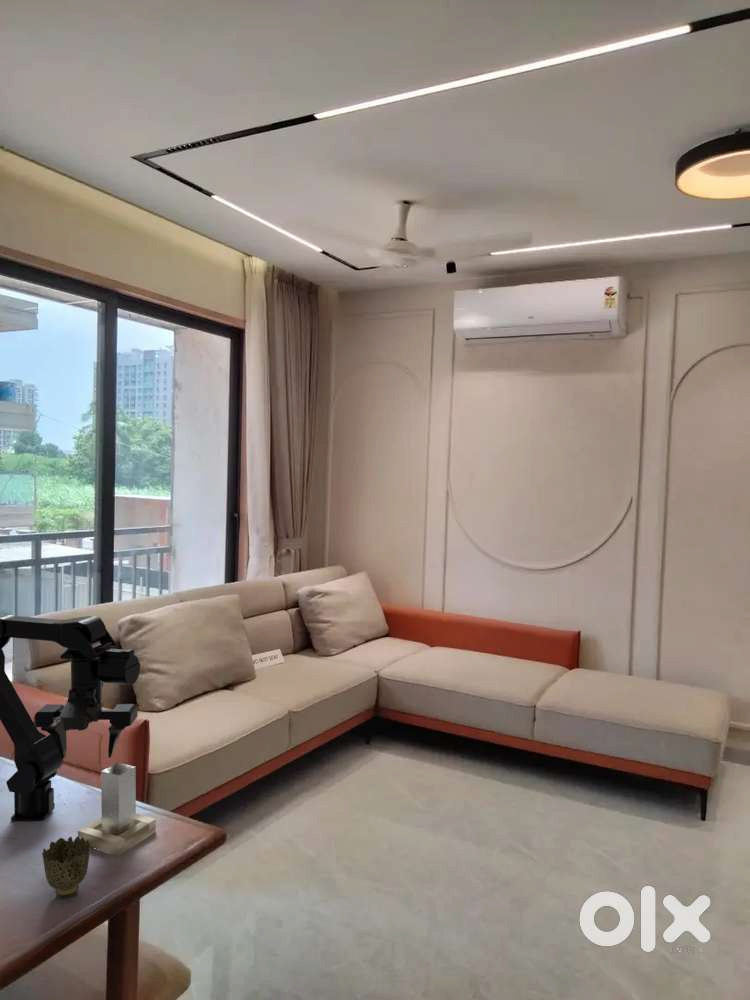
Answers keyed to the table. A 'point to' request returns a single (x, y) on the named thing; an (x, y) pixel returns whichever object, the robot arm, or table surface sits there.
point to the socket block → (121, 842)
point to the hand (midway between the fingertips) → (87, 757)
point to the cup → (66, 865)
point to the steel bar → (118, 798)
